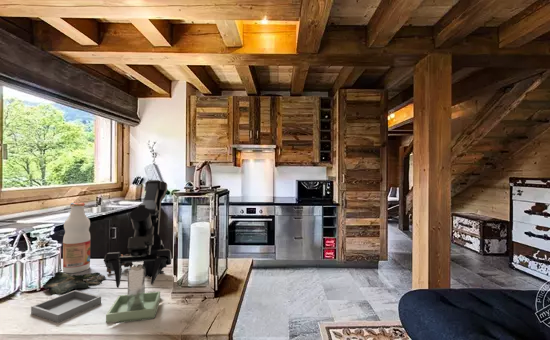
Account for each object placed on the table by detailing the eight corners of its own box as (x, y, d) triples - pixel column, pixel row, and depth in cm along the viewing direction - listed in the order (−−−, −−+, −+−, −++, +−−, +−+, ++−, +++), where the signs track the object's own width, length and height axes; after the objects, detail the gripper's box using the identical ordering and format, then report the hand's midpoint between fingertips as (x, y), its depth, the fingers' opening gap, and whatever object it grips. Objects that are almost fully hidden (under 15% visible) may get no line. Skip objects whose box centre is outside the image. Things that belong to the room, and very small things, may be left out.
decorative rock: (94, 264, 113) (116, 267, 106) (93, 279, 113) (116, 284, 105) (37, 275, 97) (58, 281, 89) (36, 294, 96) (57, 301, 89)
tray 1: (75, 297, 91) (75, 289, 91) (101, 304, 86) (101, 296, 86) (31, 315, 80) (31, 306, 80) (57, 324, 75) (58, 315, 75)
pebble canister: (130, 304, 85) (132, 262, 85) (146, 304, 86) (147, 262, 86) (124, 312, 81) (125, 268, 80) (140, 312, 81) (142, 268, 81)
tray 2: (118, 303, 87) (118, 295, 87) (160, 299, 91) (160, 291, 91) (105, 324, 76) (106, 314, 76) (154, 318, 79) (154, 309, 79)
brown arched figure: (132, 276, 111) (120, 261, 109) (110, 287, 111) (98, 271, 108) (141, 260, 123) (131, 245, 120) (122, 269, 122) (111, 254, 120)
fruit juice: (58, 270, 115) (59, 203, 116) (83, 264, 123) (83, 201, 124) (69, 275, 111) (70, 205, 111) (94, 268, 119) (95, 202, 119)
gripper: (106, 226, 85) (91, 276, 74) (171, 224, 89) (166, 270, 79) (113, 245, 92) (101, 293, 81) (173, 242, 97) (169, 286, 86)
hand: (134, 285), depth 82 cm, fingers open, 9 cm apart
